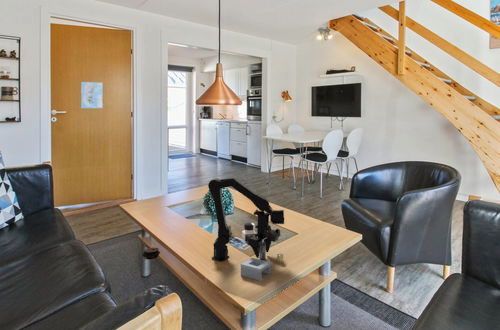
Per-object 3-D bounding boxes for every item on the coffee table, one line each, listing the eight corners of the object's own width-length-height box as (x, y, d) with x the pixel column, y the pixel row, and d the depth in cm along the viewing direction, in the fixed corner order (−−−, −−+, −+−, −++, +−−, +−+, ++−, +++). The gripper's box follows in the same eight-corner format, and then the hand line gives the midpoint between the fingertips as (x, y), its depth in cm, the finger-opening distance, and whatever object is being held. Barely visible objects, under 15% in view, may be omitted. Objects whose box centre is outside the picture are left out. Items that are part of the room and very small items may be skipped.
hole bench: (240, 275, 132) (240, 264, 132) (251, 268, 140) (251, 257, 139) (260, 280, 127) (260, 269, 126) (270, 273, 134) (270, 262, 134)
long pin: (258, 261, 148) (258, 243, 148) (261, 259, 151) (261, 241, 150) (263, 262, 147) (263, 244, 146) (266, 260, 149) (266, 242, 148)
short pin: (275, 264, 144) (276, 255, 144) (278, 262, 147) (279, 253, 147) (281, 265, 143) (281, 256, 143) (284, 263, 145) (284, 254, 145)
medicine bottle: (245, 246, 169) (245, 225, 169) (241, 242, 176) (242, 222, 175) (257, 245, 171) (257, 224, 170) (253, 241, 178) (253, 221, 177)
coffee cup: (163, 271, 157) (162, 247, 156) (156, 278, 149) (156, 252, 148) (146, 271, 158) (146, 246, 157) (139, 277, 150) (139, 252, 149)
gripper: (267, 230, 135) (267, 264, 136) (286, 222, 151) (285, 252, 152) (247, 226, 141) (246, 259, 142) (267, 218, 157) (266, 248, 158)
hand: (262, 254), depth 148 cm, fingers open, 9 cm apart
